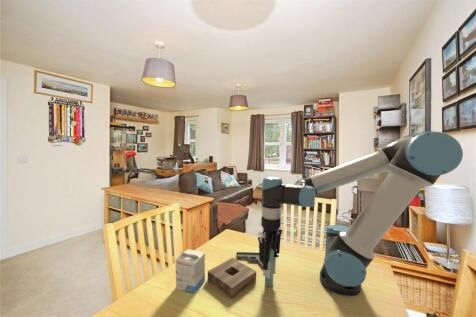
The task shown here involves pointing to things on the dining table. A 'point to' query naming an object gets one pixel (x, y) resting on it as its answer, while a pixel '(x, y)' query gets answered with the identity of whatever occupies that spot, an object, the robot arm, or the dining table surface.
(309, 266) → the dining table surface
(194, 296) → the dining table surface
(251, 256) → the handgun
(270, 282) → the peg
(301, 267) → the dining table surface
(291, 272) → the dining table surface
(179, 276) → the ink box
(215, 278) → the socket block
